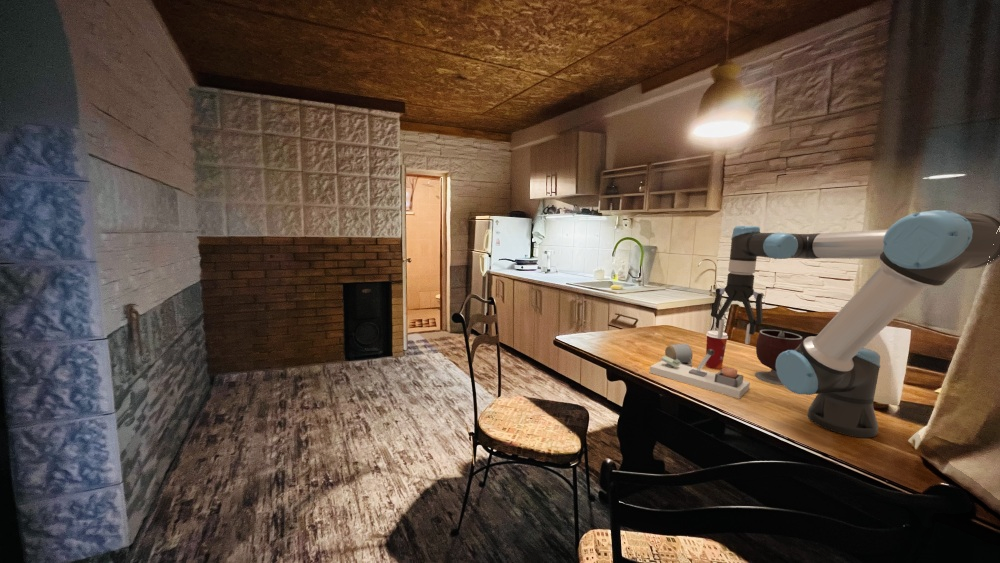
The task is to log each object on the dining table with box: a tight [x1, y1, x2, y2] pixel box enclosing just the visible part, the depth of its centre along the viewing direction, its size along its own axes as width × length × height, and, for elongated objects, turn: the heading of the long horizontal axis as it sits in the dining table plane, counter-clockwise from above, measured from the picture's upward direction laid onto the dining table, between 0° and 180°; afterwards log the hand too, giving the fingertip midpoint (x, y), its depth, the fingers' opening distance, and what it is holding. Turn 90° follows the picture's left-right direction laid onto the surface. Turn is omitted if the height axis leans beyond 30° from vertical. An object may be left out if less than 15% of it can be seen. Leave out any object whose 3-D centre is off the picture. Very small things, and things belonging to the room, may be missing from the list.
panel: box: [649, 360, 751, 400], centre depth 143 cm, size 30×12×5 cm, turn 45°
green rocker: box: [660, 355, 680, 367], centre depth 150 cm, size 6×4×2 cm, turn 45°
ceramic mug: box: [664, 343, 694, 367], centre depth 161 cm, size 11×8×8 cm
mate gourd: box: [754, 329, 803, 386], centre depth 146 cm, size 16×14×20 cm
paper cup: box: [705, 330, 729, 370], centre depth 158 cm, size 8×8×14 cm
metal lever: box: [696, 349, 714, 371], centre depth 141 cm, size 2×2×9 cm
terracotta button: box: [721, 366, 738, 379], centre depth 136 cm, size 4×4×2 cm
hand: (733, 340), depth 134 cm, fingers open, 8 cm apart
